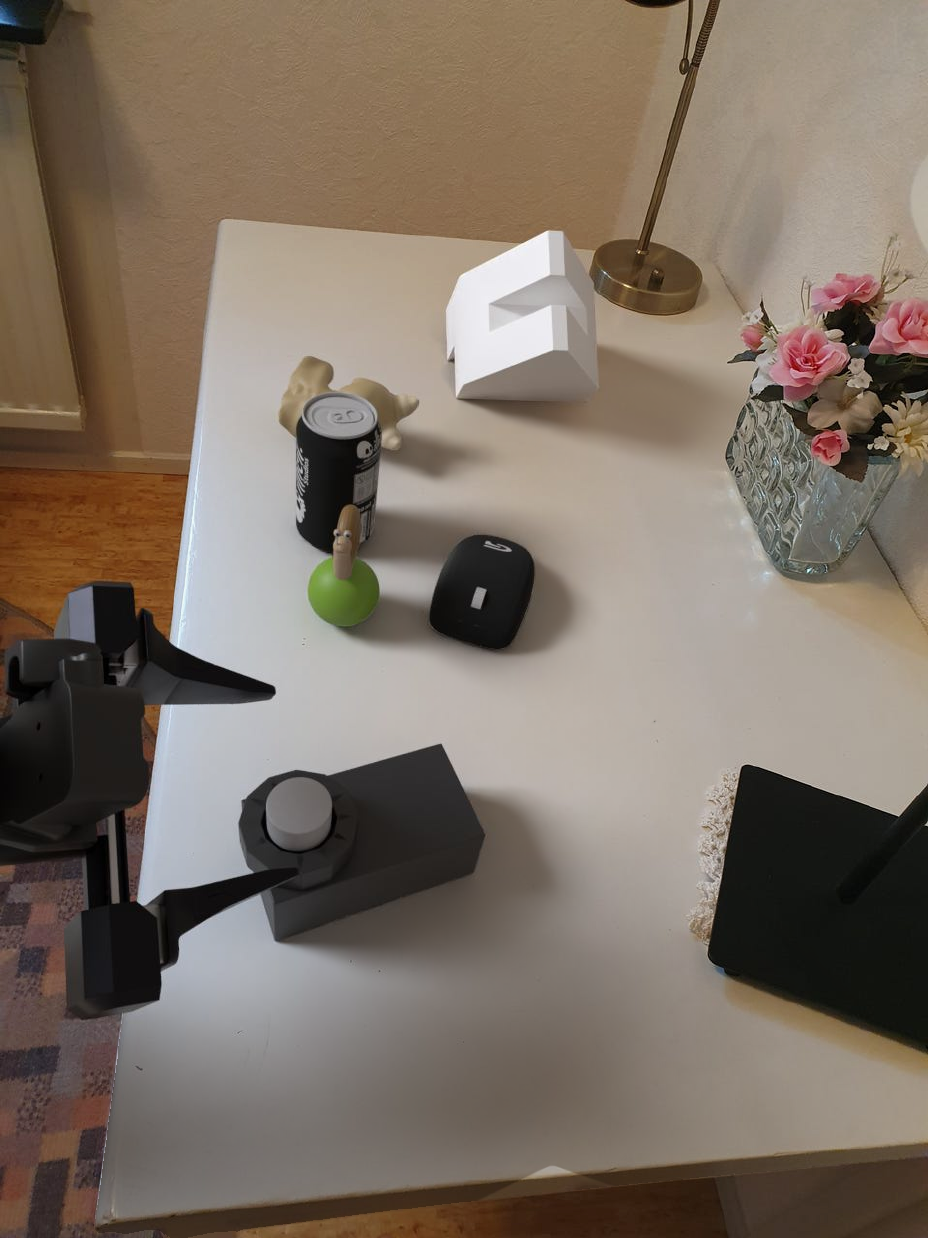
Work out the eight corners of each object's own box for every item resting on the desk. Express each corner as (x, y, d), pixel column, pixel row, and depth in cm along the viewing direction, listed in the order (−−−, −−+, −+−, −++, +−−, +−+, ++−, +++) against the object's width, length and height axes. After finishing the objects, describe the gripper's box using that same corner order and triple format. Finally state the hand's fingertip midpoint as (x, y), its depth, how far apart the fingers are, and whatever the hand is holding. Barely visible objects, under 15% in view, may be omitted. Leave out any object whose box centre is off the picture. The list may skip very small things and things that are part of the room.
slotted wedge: (448, 410, 99) (484, 346, 81) (445, 310, 100) (480, 225, 82) (573, 414, 101) (634, 353, 84) (569, 316, 102) (628, 235, 85)
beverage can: (287, 510, 80) (286, 392, 71) (360, 500, 82) (368, 384, 73) (307, 563, 76) (308, 444, 67) (383, 550, 78) (394, 434, 69)
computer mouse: (543, 561, 80) (552, 526, 77) (511, 660, 72) (520, 626, 69) (460, 537, 80) (466, 502, 78) (419, 633, 72) (424, 598, 69)
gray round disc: (276, 860, 51) (276, 842, 49) (259, 806, 53) (258, 787, 52) (339, 840, 52) (340, 822, 51) (319, 788, 54) (320, 769, 53)
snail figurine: (300, 646, 70) (301, 528, 61) (312, 586, 74) (315, 467, 65) (372, 654, 70) (383, 538, 61) (380, 594, 75) (391, 477, 66)
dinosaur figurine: (308, 344, 87) (416, 358, 81) (335, 400, 92) (438, 417, 87) (262, 405, 83) (372, 424, 78) (294, 460, 89) (398, 481, 84)
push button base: (262, 946, 54) (258, 892, 49) (232, 845, 58) (226, 785, 53) (474, 873, 59) (491, 817, 54) (433, 784, 63) (445, 724, 58)
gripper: (-74, 1032, 28) (383, 951, 37) (-64, 506, 35) (318, 537, 43) (-86, 1052, 37) (286, 983, 45) (-76, 626, 44) (245, 633, 52)
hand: (284, 779), depth 46 cm, fingers open, 9 cm apart
